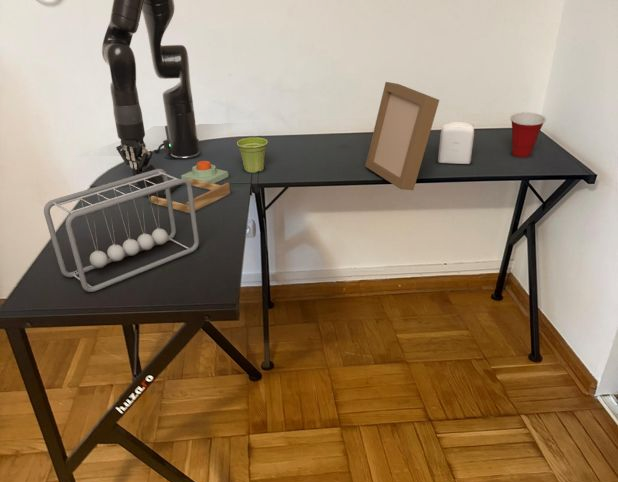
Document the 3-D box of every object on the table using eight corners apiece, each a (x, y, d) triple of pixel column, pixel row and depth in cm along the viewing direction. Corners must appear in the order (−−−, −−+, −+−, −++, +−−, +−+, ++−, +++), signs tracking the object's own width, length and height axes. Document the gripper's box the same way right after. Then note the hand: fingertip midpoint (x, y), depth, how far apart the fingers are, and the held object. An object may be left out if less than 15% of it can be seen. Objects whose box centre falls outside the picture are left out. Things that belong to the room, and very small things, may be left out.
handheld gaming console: (171, 192, 168) (147, 163, 165) (154, 207, 171) (129, 179, 168) (184, 183, 179) (161, 156, 176) (167, 198, 181) (144, 171, 178)
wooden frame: (151, 203, 167) (149, 192, 165) (192, 184, 179) (191, 174, 177) (190, 213, 161) (188, 202, 159) (230, 193, 172) (229, 183, 170)
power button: (194, 169, 180) (193, 163, 179) (203, 165, 183) (202, 160, 182) (204, 171, 178) (204, 166, 177) (213, 167, 181) (212, 162, 180)
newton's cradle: (85, 296, 126) (64, 216, 115) (62, 279, 132) (40, 202, 121) (201, 249, 143) (191, 176, 132) (175, 236, 149) (164, 166, 138)
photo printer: (437, 163, 190) (441, 123, 183) (437, 159, 193) (442, 119, 186) (470, 165, 188) (476, 125, 181) (470, 161, 192) (476, 121, 184)
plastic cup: (501, 158, 193) (508, 119, 186) (506, 148, 201) (512, 111, 194) (536, 161, 190) (544, 122, 183) (539, 151, 198) (547, 114, 191)
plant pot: (264, 175, 184) (263, 147, 178) (235, 174, 185) (232, 145, 180) (272, 165, 191) (270, 138, 186) (244, 164, 193) (241, 136, 188)
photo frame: (400, 192, 170) (407, 100, 156) (365, 169, 187) (368, 83, 172) (444, 184, 175) (455, 93, 160) (406, 162, 191) (412, 78, 177)
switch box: (181, 180, 181) (180, 169, 179) (203, 171, 188) (202, 160, 186) (207, 187, 177) (205, 175, 175) (228, 176, 183) (227, 165, 181)
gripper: (155, 120, 167) (164, 181, 177) (122, 113, 173) (133, 172, 183) (135, 126, 162) (145, 188, 172) (102, 119, 168) (114, 180, 178)
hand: (139, 180), depth 177 cm, fingers closed
